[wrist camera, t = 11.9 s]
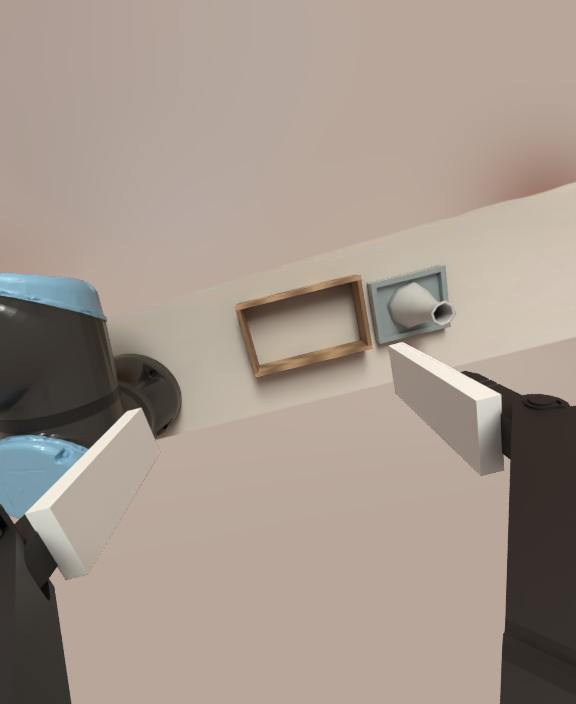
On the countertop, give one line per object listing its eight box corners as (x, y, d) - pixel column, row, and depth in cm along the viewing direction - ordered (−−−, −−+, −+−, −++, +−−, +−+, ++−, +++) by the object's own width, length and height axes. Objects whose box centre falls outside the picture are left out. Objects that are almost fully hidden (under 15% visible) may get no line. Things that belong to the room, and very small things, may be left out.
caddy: (256, 369, 51) (255, 377, 47) (237, 303, 48) (234, 306, 44) (364, 342, 50) (372, 348, 47) (353, 274, 47) (360, 275, 43)
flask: (439, 305, 49) (480, 314, 39) (405, 335, 50) (437, 351, 40) (413, 272, 47) (450, 273, 37) (378, 304, 48) (405, 313, 38)
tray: (376, 341, 51) (380, 343, 49) (367, 283, 48) (370, 284, 46) (444, 324, 50) (450, 326, 49) (439, 265, 48) (445, 265, 46)
